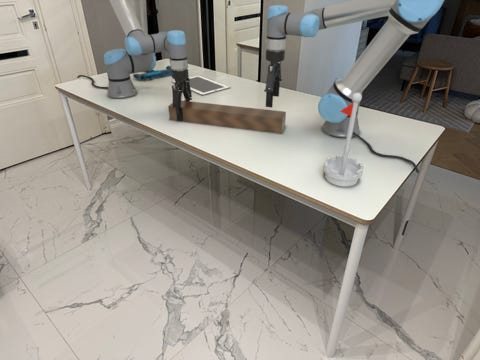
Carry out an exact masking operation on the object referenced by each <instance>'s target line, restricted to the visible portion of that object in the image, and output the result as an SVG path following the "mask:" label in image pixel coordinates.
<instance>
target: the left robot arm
mask: <svg viewBox="0 0 480 360" xmlns="http://www.w3.org/2000/svg"><path fill="white" fill-rule="evenodd" d="M108 1H109V4H110V5H111V7H112V9H113V12H114V14H115V16H116V18H117V19H118V22H119V24H120V26H121V28H122V30H123V32H124V34H125V38H124V48H115V49H111V50H108V51H106V52H105V53H104V54H103V61H104V62H103V63H104V66H105V71H106V75H107V80H108V85H107V86H99V85H97V84H94V82H95V80H94V78H93V77H90V76H88V75H85V74H79V75H77V77H76V78H77V79H79V78H80V77H82V78H87V79H90V80H91V85H92V87H94V88H97V89H104V90H105V89H106V90H107V96H108V97H109V98H111V99H127V98H131V97H133V96H136V94H137V89H136V87H135V85H134V83H133V81H132V79H131V74H132V75H133V74H139V73H146V72H147V71H150V70H155V69H156V68H155V67H156V65H157V56H156V53H163V52H164V53H165V52H168V55H169V63H170V66H171V69H172V70H171V74H170V75H171V79H172V80H173V81H175V83H174V85H171V90H172V94H171V95H172V103H173V108H176V115H177V122H183V115H182V107H181V100H182V96H183V97H184V99H183V101H192V100H193V98H192V97H193V94H192V91H191V88H190V83H189V78H190V77H189V69H188V68H189V63H188V62H189V61H188V54H187V53H188V52H187V39H186V33H185V32H184V31H183V30H180V29H178V30H177V29H173V30H168V31H159V32H157V33H153V34H149V33H148V32H149V31H148V15H147V0H108Z"/></svg>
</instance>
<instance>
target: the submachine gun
mask: <svg viewBox="0 0 480 360" xmlns="http://www.w3.org/2000/svg"><path fill="white" fill-rule="evenodd" d="M171 70H172V69H171V65H167V66H165V69H160V70H159V69H157V70H155V69H153V70H150V71H147V72H143V73H132V77H133V78H134V79H136V80H138V81H145V80H150V81H152V79H153V78H159V77H164V76H167V75H171Z"/></svg>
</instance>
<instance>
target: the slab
mask: <svg viewBox="0 0 480 360" xmlns="http://www.w3.org/2000/svg"><path fill="white" fill-rule="evenodd" d="M181 107H182V115H183V121H182V122H185V123H191V124H200V125H207V126H208V125H209V126H216V127H225V128H233V129H241V130H249V131H257V132H264V133H265V132H266V133H272V134H282V133H283V131H284V129H285V127H286V118H287V111H283V110H273V109H264V108H255V107H247V106H246V107H245V106H237V105H227V104H217V103H210V102H209V103H208V102H200V101H199V102H198V101H192V100H190V101H184V100H183V99H181ZM168 115H169V120H170V121H174V122H175V121H177V115H176V108H173V102H171V103H170V104H169V105H168ZM177 122H178V121H177Z"/></svg>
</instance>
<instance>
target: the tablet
mask: <svg viewBox="0 0 480 360" xmlns="http://www.w3.org/2000/svg"><path fill="white" fill-rule="evenodd" d="M188 78H189V83H190V88H191V92H193V93H195V94H198V95H201V96H205V95H208V94H212V93H216V92H219V91H223V90H227V89H230V88H231V86H229V85H226V84H223V83H220V82H218V81H216V80H212V79H210V78H207V77H204V76H202V75H194V76H190V77H188ZM171 83H174V84H175V80H173V81H171Z"/></svg>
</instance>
